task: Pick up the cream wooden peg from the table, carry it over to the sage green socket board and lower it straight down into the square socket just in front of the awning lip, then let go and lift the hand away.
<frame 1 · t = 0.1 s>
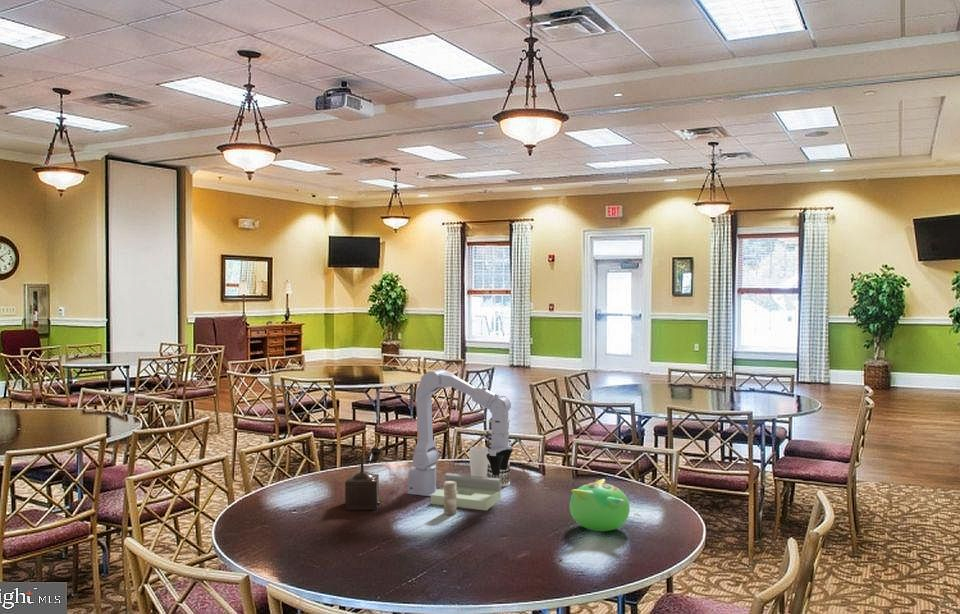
hand: (499, 472, 249), 10 cm above the table, tool pointing down, fingers open, 7 cm apart
pepper mill: (364, 504, 246), on the table
peg: (450, 513, 236), on the table
decorative candle: (498, 484, 272), on the table
toy bird: (598, 530, 221), on the table
socket board: (466, 501, 249), on the table
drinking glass: (478, 489, 264), on the table
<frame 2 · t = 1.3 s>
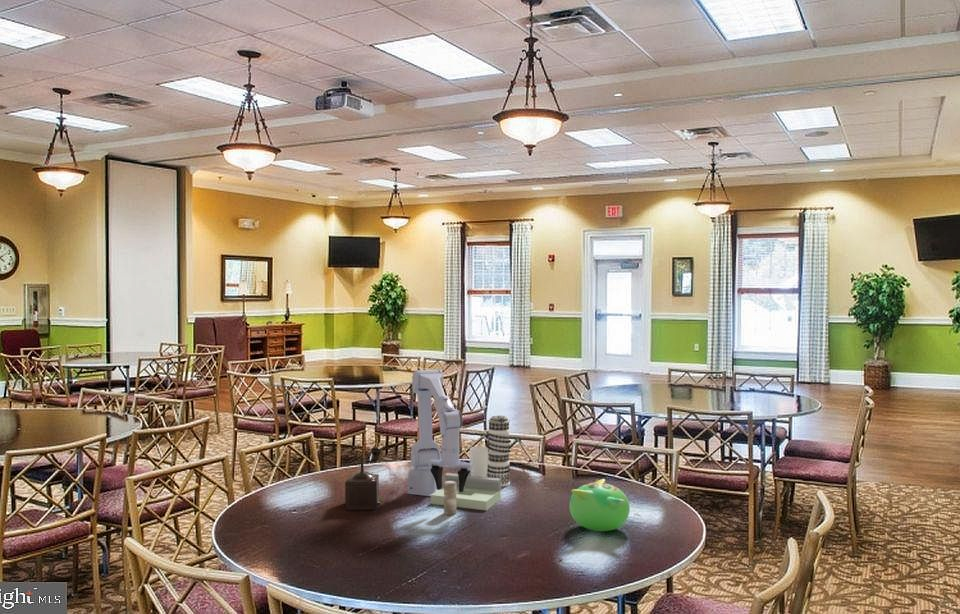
hand: (450, 490, 236), 7 cm above the table, tool pointing down, fingers open, 7 cm apart
nothing on the table moved.
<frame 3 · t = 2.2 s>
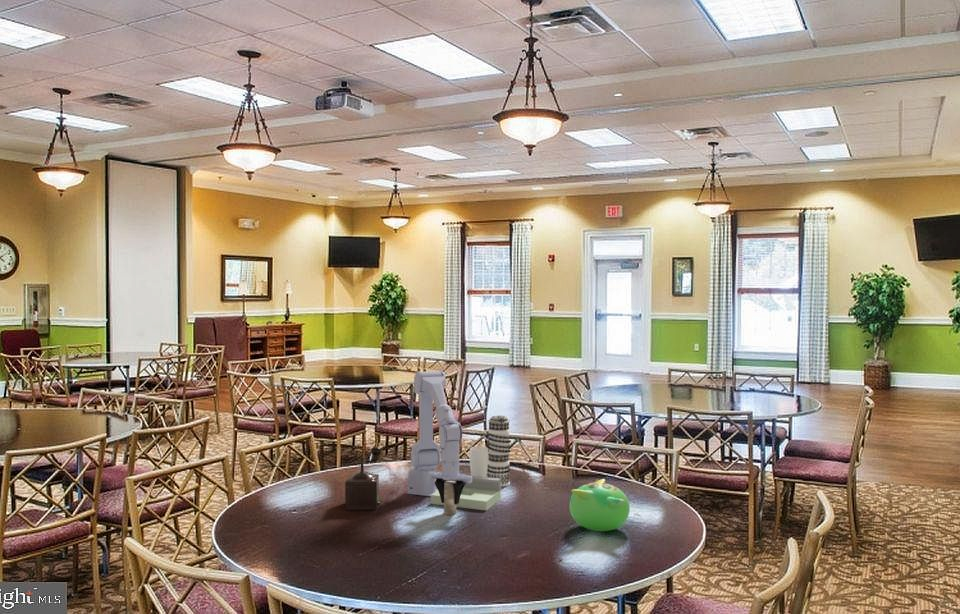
hand: (450, 502, 236), 3 cm above the table, tool pointing down, fingers closed on peg, 4 cm apart
peg: (450, 513, 236), on the table, touching gripper
everything else where it was.
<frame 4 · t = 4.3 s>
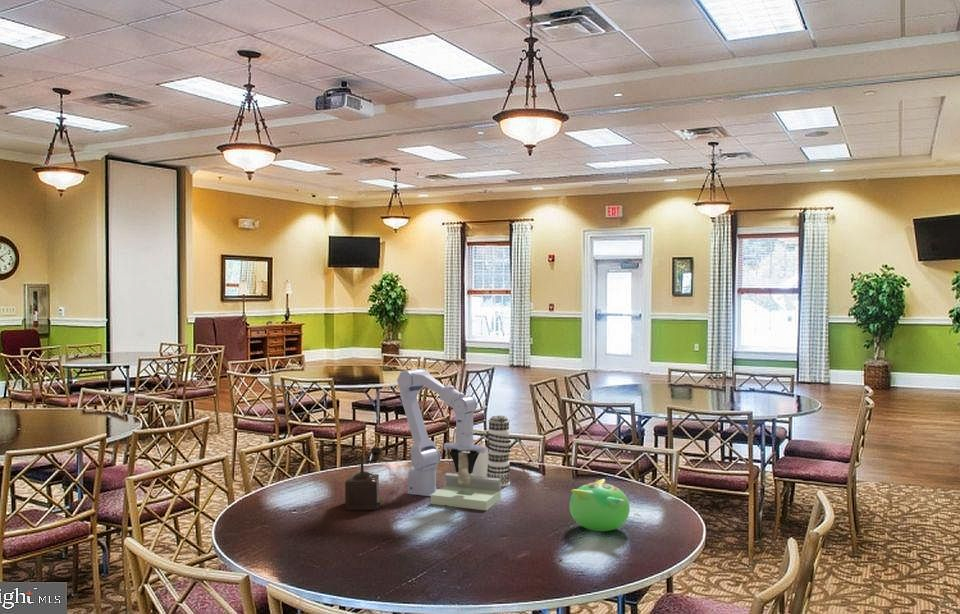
hand: (464, 472, 247), 10 cm above the table, tool pointing down, fingers closed on peg, 4 cm apart
peg: (464, 482, 247), point 7 cm above the table, touching gripper
everything else where it was.
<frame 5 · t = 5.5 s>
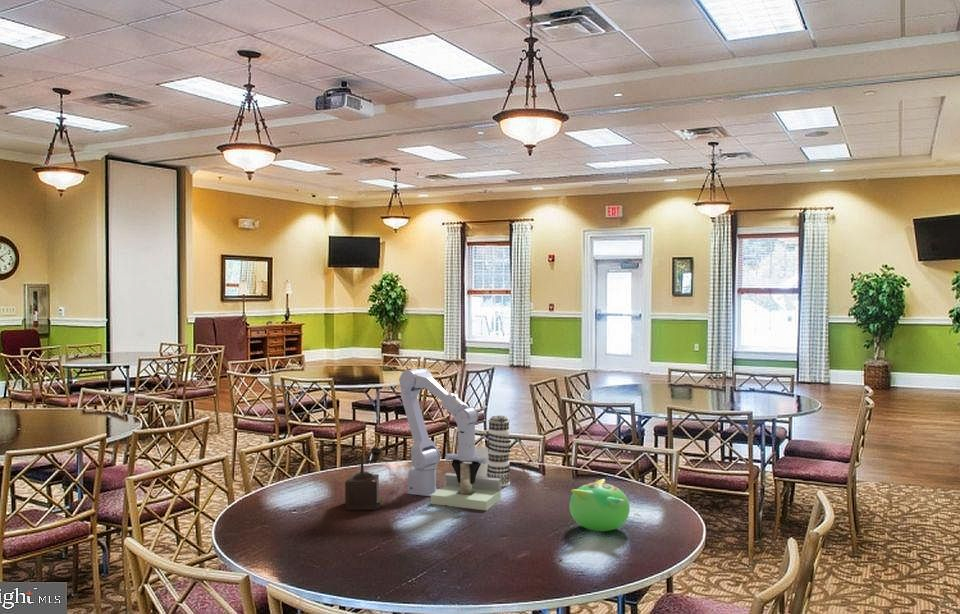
hand: (466, 482, 249), 6 cm above the table, tool pointing down, fingers closed on peg, 4 cm apart
peg: (466, 492, 249), point 3 cm above the table, touching gripper
everything else where it was.
when the fingers open (4 cm above the table, at t = 6.3 s): peg stays where it is, resting in socket board.
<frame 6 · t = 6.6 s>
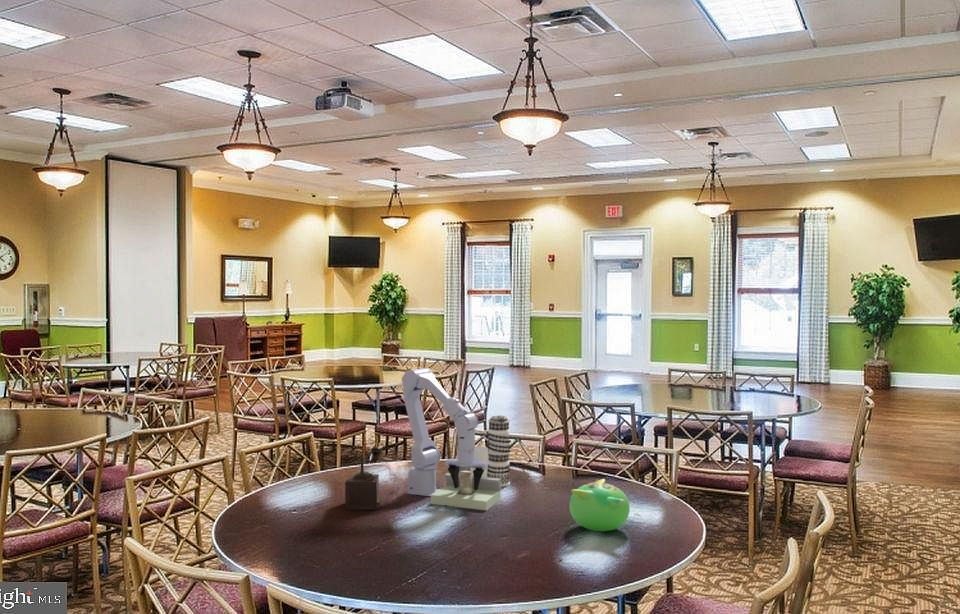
hand: (466, 488, 249), 4 cm above the table, tool pointing down, fingers open, 7 cm apart
peg: (466, 501, 249), resting in socket board
everything else where it was.
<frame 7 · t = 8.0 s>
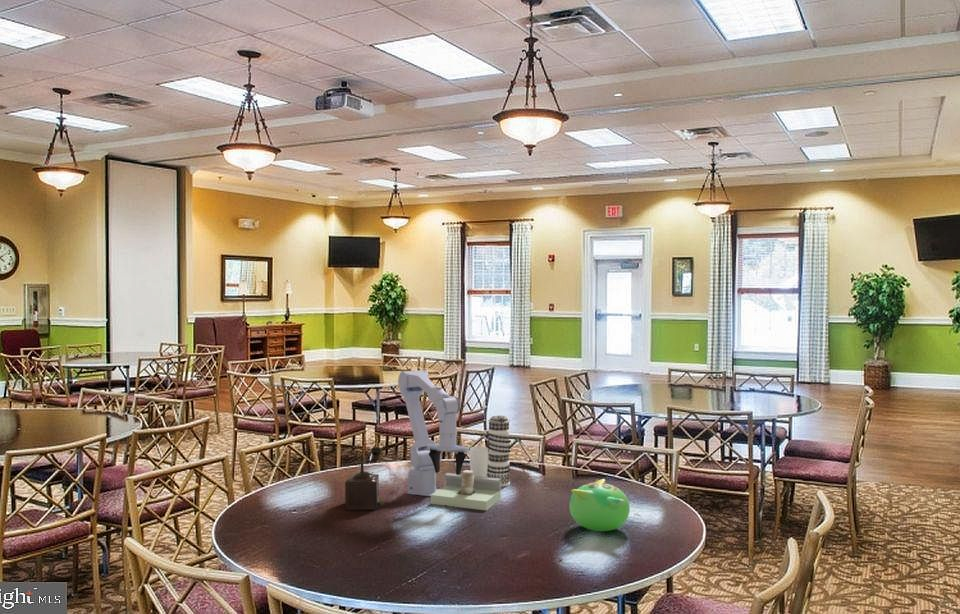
hand: (447, 473, 246), 10 cm above the table, tool pointing down, fingers open, 7 cm apart
nothing on the table moved.
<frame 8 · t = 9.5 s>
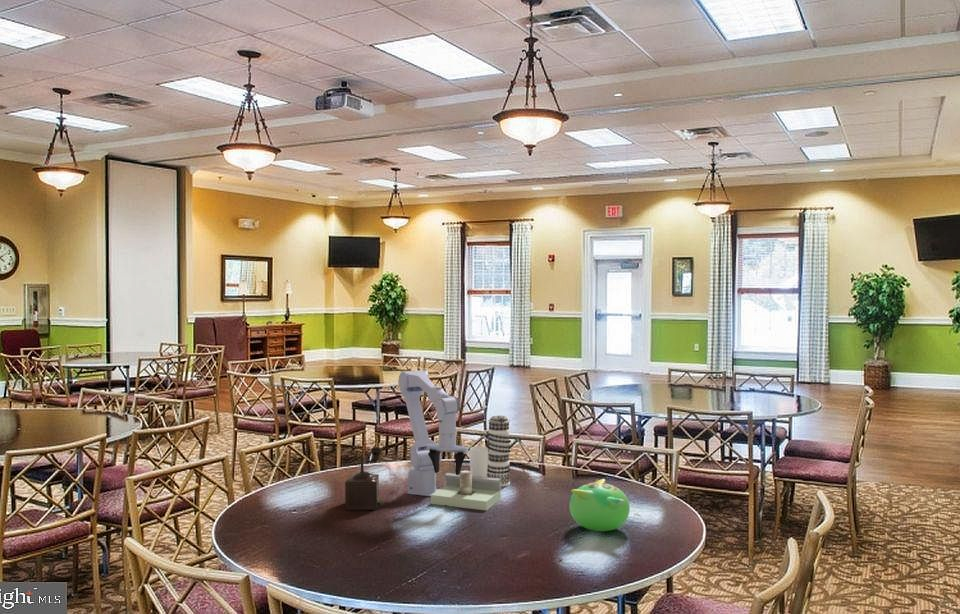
hand: (447, 473, 246), 10 cm above the table, tool pointing down, fingers open, 7 cm apart
at the end: peg 0.0 cm off-centre on the socket board, point 0.0 cm above the socket board's base; peg tilted 1°; the gripper is holding nothing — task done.
